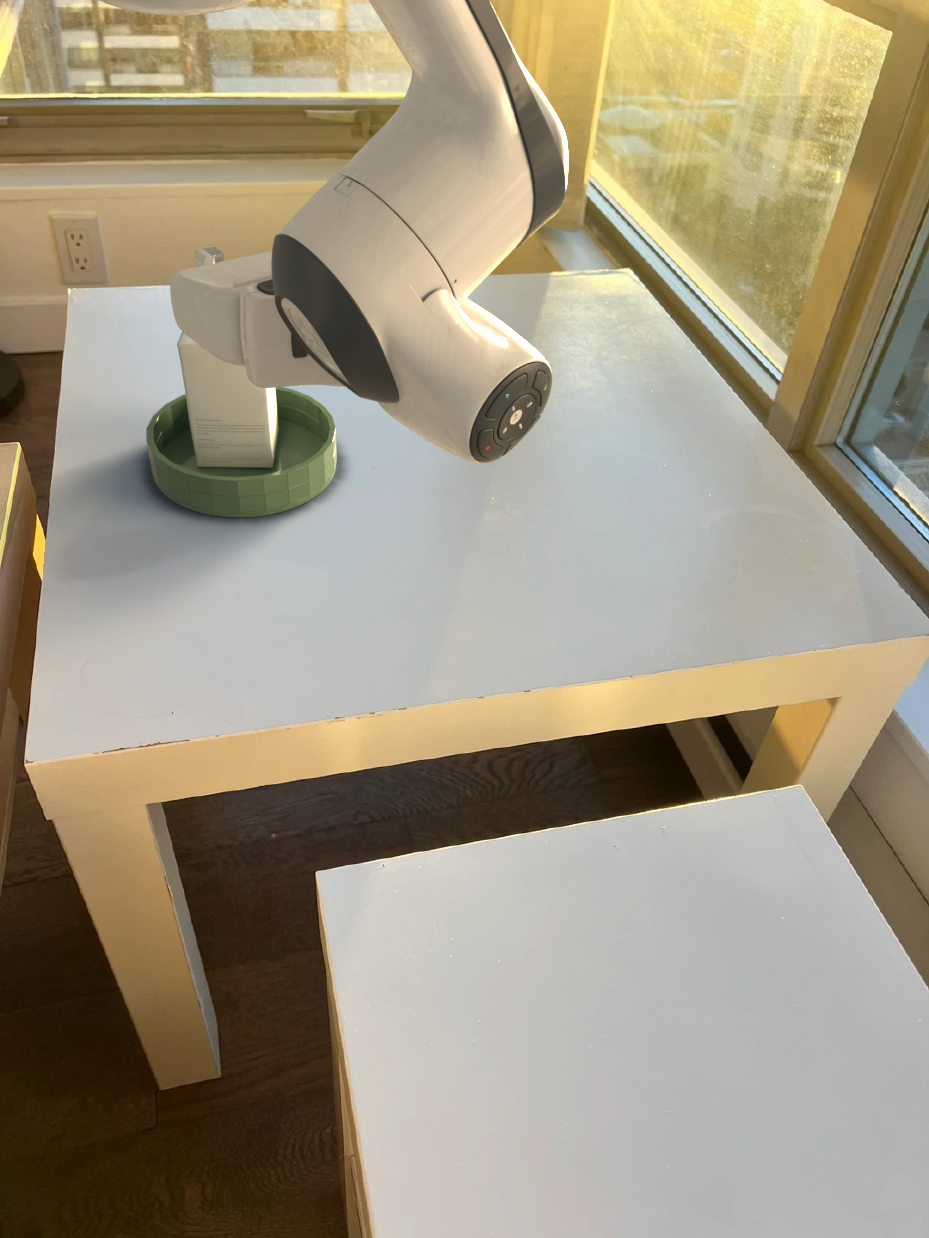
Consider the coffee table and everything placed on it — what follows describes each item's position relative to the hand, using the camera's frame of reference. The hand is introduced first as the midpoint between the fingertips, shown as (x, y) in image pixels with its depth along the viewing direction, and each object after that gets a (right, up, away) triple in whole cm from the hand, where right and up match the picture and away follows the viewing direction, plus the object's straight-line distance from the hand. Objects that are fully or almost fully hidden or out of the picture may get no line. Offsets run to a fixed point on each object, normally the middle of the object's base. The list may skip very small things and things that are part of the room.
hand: (261, 246), depth 73 cm
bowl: (-5, -14, +19) cm, 24 cm away
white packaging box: (-6, -12, +20) cm, 24 cm away
